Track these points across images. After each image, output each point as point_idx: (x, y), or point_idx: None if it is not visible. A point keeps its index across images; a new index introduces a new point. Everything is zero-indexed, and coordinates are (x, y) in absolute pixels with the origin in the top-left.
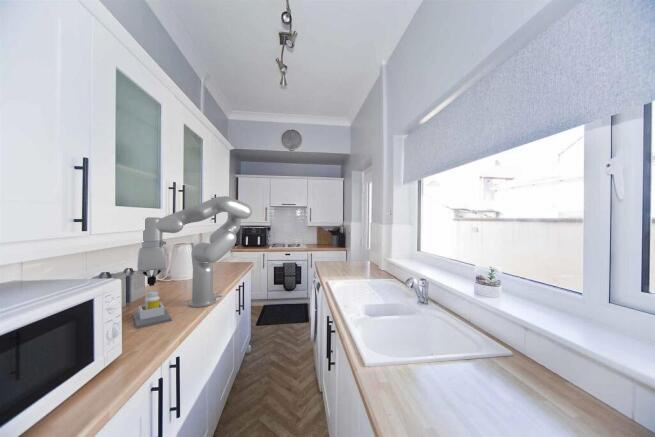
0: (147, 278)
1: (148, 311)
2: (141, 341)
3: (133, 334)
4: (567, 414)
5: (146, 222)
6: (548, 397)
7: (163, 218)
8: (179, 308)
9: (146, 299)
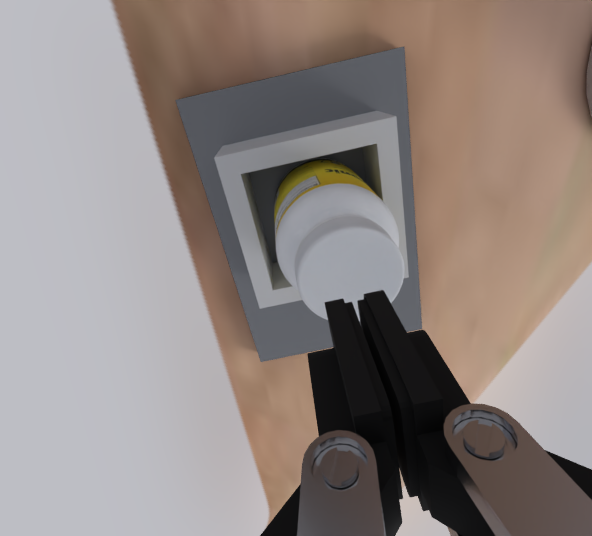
0: (318, 424)
1: None
2: (300, 466)
3: (260, 405)
4: None
5: None
6: None
7: None
8: (504, 96)
9: (291, 282)
